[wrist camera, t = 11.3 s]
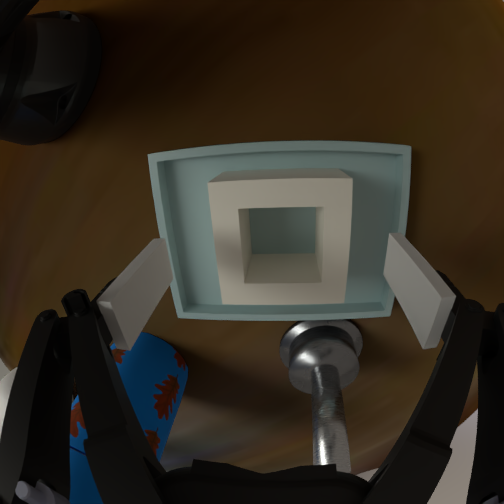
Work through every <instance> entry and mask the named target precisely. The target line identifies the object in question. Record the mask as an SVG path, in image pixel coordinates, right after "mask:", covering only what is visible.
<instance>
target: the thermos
mask: <svg viewBox="0 0 504 504" xmlns="http://www.w3.org/2000/svg"><path fill="white" fill-rule="evenodd" d="M110 348H111V350H112V353H113V356H114V359H115V362H116V365H117V368H118V371H119V373H120V376H121V379H122V382H123V384H124V387H125V389H126V392H127V395H128V397H129V400H130V402H131V404H132V407H133V409H134V411H135V414H136V416H137V418H138V421H139V423H140V425H141V427H142V429H143V431H144V434H145V436H146V438H147V440H148V442H149V444H150V446H151V448H152V450H153V452H154V454H155V455H156V457H157V459H158V461H159V462H160V459H161V456H162V453H163V450H164V447H165V445H166V442H167V439H168V436H169V433H170V430H171V427H172V425H173V422H174V419H175V416H176V413H177V411H178V408H179V405H180V402H181V399H182V396H183V392H184V389H185V385H186V382H187V378H188V367H187V365H186V363H185V360H184V358H183V357H182V356H181V355H180V354H179V353H178V352H177V351H176V349H175V348H173V347H172V346H171V345H169V344H168V343H166V342H165V341H164V340H162V339H160V338H158V337H155V336H153V335H151V334H148V333H143V332H141V333H140V334H139V336H138V338H137V340H136V341H135V343H134V345H133V347H132V348H131V350H130V351H129V350H122V349H117V348H116V346H115V343H113V345H112V346H111V347H110ZM84 439H88V436H87V432H86V428H85V424H84V420H83V416H82V412H81V407H80V403H79V398H78V395H77V397H76V398H75V400H74V401H73V403H72V407H71V423H70V485H71V489H70V500H69V502H70V504H103V502H102V499H101V497H100V495H99V492H98V489H97V487H96V484H95V481H94V478H93V476H92V473H91V470H90V467H89V464H88V460H87V457H86V454H85V450H84V446H83V441H84Z"/></svg>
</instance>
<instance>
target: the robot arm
mask: <svg viewBox="0 0 504 504" xmlns="http://www.w3.org/2000/svg"><path fill="white" fill-rule="evenodd" d="M38 1H39V0H0V140H5V141H9V142H13V143H17V144H21V145H36V144H41V143H46V142H50V141H53V140H55V139H57V138H58V137H60V136H61V135H63V134H64V133H65V132H66V131H67V130H68V129H69V128H70V127H71V126H72V125H73V124H74V123H75V121H76V120H77V119H78V117H79V116H80V114H81V113H82V111H83V110H84V108H85V106H86V104H87V102H88V100H89V98H90V96H91V94H92V91H93V89H94V86H95V83H96V80H97V77H98V73H99V69H100V63H101V53H102V46H101V38H100V34H99V31H98V29H97V27H96V25H95V24H94V22H93V21H92V20H91V19H89V18H88V17H86V16H83V15H81V14H78V13H75V12H72V11H53V12H45V13H38V14H31V15H27V14H28V13H29V11H30V10H31V9H32V8H33V7H34V6H35V5H36V3H37V2H38ZM383 275H384V277H385V279H386V280H387V282H388V284H389V286H390V287H391V289H392V291H393V293H394V294H395V296H396V298H397V300H398V302H399V303H400V305H401V307H402V309H403V311H404V313H405V315H406V317H407V318H408V320H409V322H410V324H411V326H412V328H413V330H414V332H415V334H416V336H417V338H418V340H419V342H420V344H421V346H422V348H423V349H428V348H434V347H437V345H438V343H439V340H440V338H441V337H442V339H443V341H444V345H443V347H442V349H441V351H440V354H439V356H438V358H437V362H436V365H435V367H434V369H433V372H432V374H431V376H430V379H429V381H428V383H427V385H426V388H425V390H424V392H423V394H422V396H421V398H420V400H419V402H418V404H417V406H416V408H415V410H414V412H413V414H412V415H411V417H410V419H409V421H408V423H407V425H406V426H405V428H404V430H403V432H402V433H401V435H400V437H399V438H398V440H397V442H396V443H395V445H394V446H393V448H392V450H391V451H390V453H389V454H388V456H387V457H386V459H385V460H384V462H383V463H382V465H381V466H380V467H379V469H378V470H377V471H376V473H375V474H374V475H373V476H372V478H371V479H370V480H369V481H368V482H367V481H366V480H364V479H362V478H360V477H358V476H356V475H353V474H350V473H346V472H341V471H337V468H336V464H325V465H310V466H299V467H294V468H290V469H286V470H281V471H276V472H271V473H265V474H262V473H257V472H254V471H250V470H247V469H243V468H240V467H236V466H233V465H230V464H227V463H218V462H210V461H202V460H196V459H193V463H192V467H183V468H178V469H174V470H171V471H169V472H166V471H165V470H164V468H163V467H162V465H161V464H160V462H159V461H158V459H157V457H156V455H155V454H154V452H153V450H152V448H151V446H150V444H149V442H148V440H147V438H146V436H145V434H144V431H143V429H142V427H141V425H140V423H139V421H138V418H137V416H136V414H135V411H134V409H133V407H132V404H131V402H130V400H129V397H128V395H127V392H126V389H125V387H124V384H123V382H122V379H121V376H120V373H119V371H118V368H117V365H116V362H115V359H114V356H113V353H112V350H111V348H110V346H109V344H110V343H111V341H112V340H113V341H114V343H115V346H116V348H117V349H122V350H129V351H130V350H131V348H132V347H133V345H134V343H135V341H136V340H137V338H138V336H139V334H140V333H141V331H142V329H143V328H144V326H145V324H146V323H147V321H148V319H149V318H150V316H151V314H152V313H153V311H154V309H155V308H156V306H157V304H158V303H159V301H160V299H161V298H162V296H163V294H164V293H165V291H166V290H167V288H168V286H169V285H170V283H171V282H172V280H173V274H172V269H171V265H170V260H169V255H168V250H167V245H166V240H165V238H160V239H153V240H152V241H151V242H150V243H149V244H148V245H147V246H146V247H145V248H144V249H143V250H142V251H141V253H140V254H139V255H138V256H137V257H136V258H135V259H134V260H133V261H132V262H131V263H130V264H129V265H128V266H127V267H126V268H125V270H124V271H123V272H122V273H121V274H120V275H119V276H118V277H116V278H114V279H113V280H111V281H110V282H108V284H107V285H106V286H105V287H104V288H103V289H102V290H101V291H100V293H98V295H97V296H96V297H95V298H94V299H93V300H92V301H91V302H90V300H89V298H88V295H87V292H86V291H85V290H83V289H77V290H73V291H71V292H69V293H67V294H66V295H65V296H64V297H63V298H62V300H61V302H62V305H63V307H64V309H65V311H66V313H67V316H68V317H61V318H59V317H58V314H57V312H56V311H55V310H53V309H50V310H45V311H43V312H41V313H40V314H39V315H38V316H37V317H36V319H35V321H34V324H33V326H32V329H31V331H30V334H29V336H28V339H27V341H26V344H25V347H24V350H23V352H22V355H21V358H20V361H19V364H18V367H17V370H16V374H15V377H14V380H13V384H12V387H11V391H10V395H9V399H8V403H7V407H6V411H5V416H4V421H3V426H2V432H1V437H0V504H70V502H69V500H70V489H71V485H70V423H71V407H72V395H73V385H74V377H75V382H76V387H77V393H78V398H79V403H80V407H81V412H82V416H83V420H84V424H85V428H86V432H87V436H88V439H84V441H83V446H84V450H85V454H86V457H87V460H88V464H89V467H90V470H91V473H92V476H93V478H94V481H95V484H96V487H97V489H98V492H99V495H100V497H101V499H102V502H103V504H427V502H428V501H429V499H430V497H431V495H432V493H433V492H434V490H435V488H436V486H437V484H438V482H439V480H440V479H441V477H442V475H443V472H444V470H445V468H446V466H447V464H448V462H449V459H450V457H451V454H452V449H451V448H450V444H451V441H452V439H453V436H454V434H455V431H456V429H457V426H458V423H459V421H460V418H461V415H462V412H463V409H464V406H465V403H466V400H467V396H468V393H469V389H470V386H471V382H472V378H473V374H474V370H475V366H476V362H477V366H478V422H477V435H476V445H475V454H474V461H473V467H472V473H471V479H470V484H469V489H468V495H467V501H466V504H504V303H501V304H499V305H498V306H497V308H496V311H495V312H488V311H485V310H484V307H483V306H482V305H481V304H480V303H479V302H477V301H475V300H471V299H465V298H464V296H463V295H462V294H461V293H460V292H459V290H458V289H457V288H456V287H454V284H453V283H452V282H450V280H449V278H448V277H447V276H446V275H445V274H443V273H442V272H440V271H438V270H436V271H435V270H434V269H433V268H432V266H431V265H430V264H429V263H428V262H427V261H426V260H425V259H424V257H423V256H422V255H421V254H420V253H419V252H418V251H417V250H416V249H415V248H414V246H413V245H412V244H411V243H410V242H409V241H408V240H407V239H406V238H405V237H404V236H403V235H402V234H401V233H389V238H388V245H387V253H386V259H385V266H384V272H383Z"/></svg>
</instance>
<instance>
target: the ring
mask: <svg viewBox="0 0 504 504" xmlns="http://www.w3.org/2000/svg"><path fill="white" fill-rule="evenodd" d="M207 184H208V193H209V203H210V212H211V220H212V229H213V237H214V245H215V253H216V261H217V268H218V276H219V283H220V290H221V297H222V304H234V305H295V304H335V303H344V300H345V292H346V283H347V273H348V262H349V250H350V236H351V219H352V191H353V178H351V177H350V176H348V175H347V174H345V173H344V172H343V171H341V170H340V169H338V168H287V169H259V170H240V171H225V172H222V173H221V174H219V175H218V176H216V177H215V178H213V179H212V180H210V181H209V182H208V183H207ZM275 207H316V229H315V253H291V254H252V247H251V233H250V219H249V208H275Z"/></svg>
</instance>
